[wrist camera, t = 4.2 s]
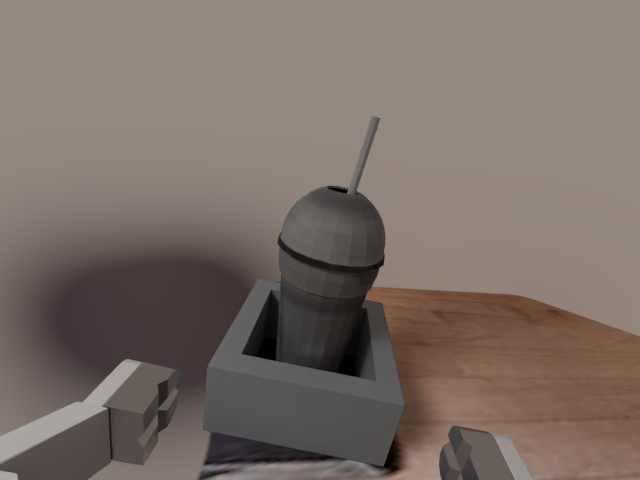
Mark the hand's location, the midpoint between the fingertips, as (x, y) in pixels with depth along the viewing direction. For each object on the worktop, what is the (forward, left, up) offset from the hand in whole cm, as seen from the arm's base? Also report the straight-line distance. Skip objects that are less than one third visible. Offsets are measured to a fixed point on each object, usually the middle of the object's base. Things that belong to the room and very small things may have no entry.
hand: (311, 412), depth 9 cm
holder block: (0, +13, -11) cm, 17 cm away
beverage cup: (0, +13, -11) cm, 17 cm away
